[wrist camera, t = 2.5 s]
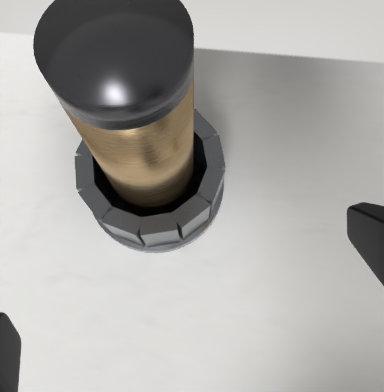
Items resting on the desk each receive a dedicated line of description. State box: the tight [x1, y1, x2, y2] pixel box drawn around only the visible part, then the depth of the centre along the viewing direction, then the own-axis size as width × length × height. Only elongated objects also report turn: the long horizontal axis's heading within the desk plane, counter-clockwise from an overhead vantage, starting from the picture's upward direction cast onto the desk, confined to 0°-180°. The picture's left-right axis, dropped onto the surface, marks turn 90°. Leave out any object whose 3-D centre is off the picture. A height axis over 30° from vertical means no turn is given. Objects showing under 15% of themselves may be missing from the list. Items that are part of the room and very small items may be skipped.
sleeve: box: [75, 109, 225, 253], centre depth 22 cm, size 9×9×4 cm
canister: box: [33, 0, 194, 217], centre depth 17 cm, size 5×5×13 cm
